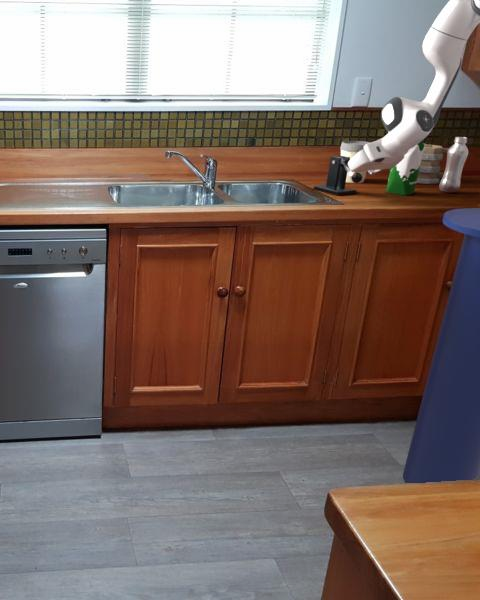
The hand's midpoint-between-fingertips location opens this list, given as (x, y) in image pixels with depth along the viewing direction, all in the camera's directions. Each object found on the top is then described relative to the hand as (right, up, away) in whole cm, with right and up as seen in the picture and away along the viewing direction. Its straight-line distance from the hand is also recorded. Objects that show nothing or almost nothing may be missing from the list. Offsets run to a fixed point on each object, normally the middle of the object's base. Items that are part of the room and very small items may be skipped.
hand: (360, 174), depth 215 cm
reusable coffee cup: (+11, +4, +31) cm, 33 cm away
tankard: (+42, +3, +30) cm, 52 cm away
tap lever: (-2, +1, +6) cm, 6 cm away
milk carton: (+20, -5, +11) cm, 23 cm away
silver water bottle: (+38, -4, +12) cm, 41 cm away
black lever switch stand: (-4, -4, +12) cm, 13 cm away
